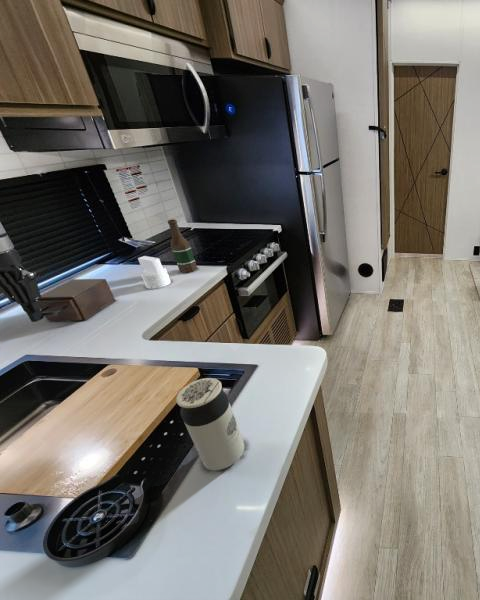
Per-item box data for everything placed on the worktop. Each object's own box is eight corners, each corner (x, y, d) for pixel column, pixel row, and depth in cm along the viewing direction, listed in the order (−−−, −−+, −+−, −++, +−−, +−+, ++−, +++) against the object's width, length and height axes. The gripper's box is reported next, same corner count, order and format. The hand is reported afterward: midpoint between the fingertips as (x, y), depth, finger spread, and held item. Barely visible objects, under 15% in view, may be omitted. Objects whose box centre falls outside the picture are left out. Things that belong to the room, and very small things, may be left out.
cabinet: (86, 320, 118) (73, 296, 113) (50, 321, 118) (35, 297, 113) (116, 300, 131) (105, 278, 126) (83, 301, 130) (71, 279, 126)
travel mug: (194, 468, 67) (163, 404, 59) (219, 436, 74) (194, 374, 66) (230, 474, 66) (204, 410, 58) (251, 440, 73) (231, 378, 64)
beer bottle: (201, 269, 158) (185, 219, 146) (185, 274, 152) (167, 223, 141) (192, 265, 161) (175, 217, 150) (175, 271, 156) (157, 221, 144)
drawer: (68, 327, 112) (56, 308, 108) (34, 328, 112) (21, 308, 108) (109, 301, 128) (100, 283, 124) (79, 302, 128) (69, 283, 124)
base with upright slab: (175, 281, 146) (166, 255, 140) (156, 290, 139) (145, 263, 133) (160, 278, 149) (151, 253, 143) (141, 286, 141) (129, 260, 135)
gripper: (32, 247, 101) (68, 313, 112) (-12, 247, 100) (28, 313, 112) (6, 256, 94) (48, 325, 105) (-41, 256, 94) (6, 325, 105)
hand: (38, 319), depth 108 cm, fingers closed
